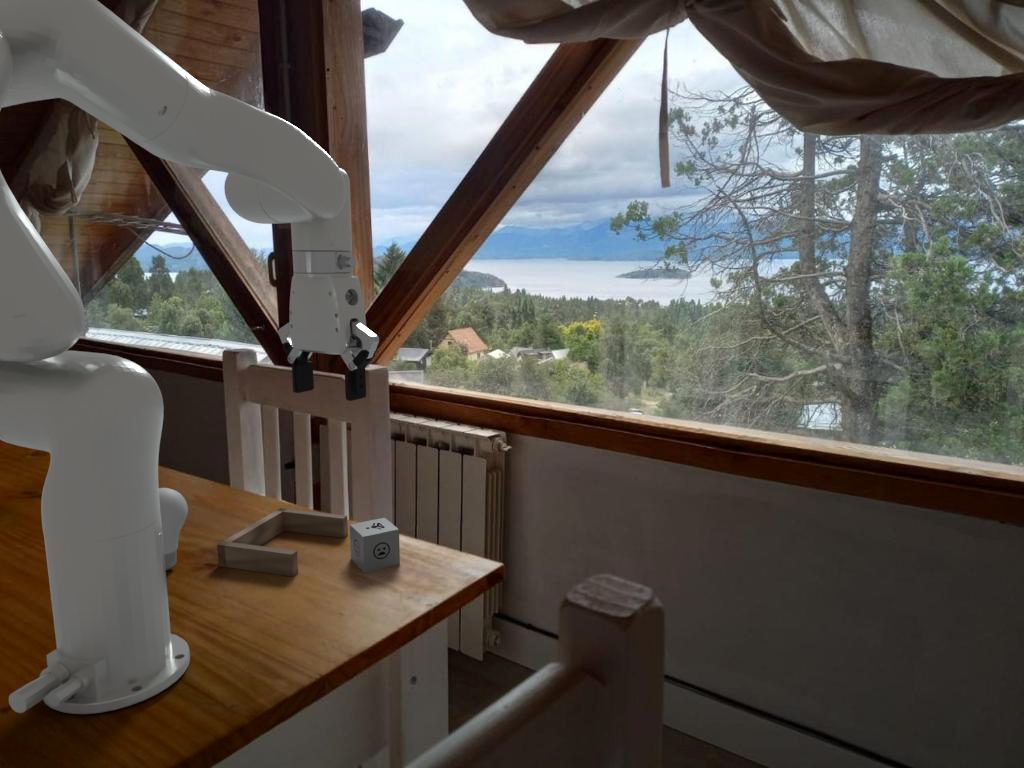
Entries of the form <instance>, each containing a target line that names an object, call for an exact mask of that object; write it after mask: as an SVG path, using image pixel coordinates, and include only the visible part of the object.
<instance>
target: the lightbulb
mask: <svg viewBox="0 0 1024 768" xmlns="http://www.w3.org/2000/svg"><path fill="white" fill-rule="evenodd" d="M159 501H160V513H161V523H162V535H163V547H164V559H165V571H169V570H170V569H171V568H173V567H174V566H175V565H176V564H177V563H178V561H177V559H178V557H177V556H178V554H177V550H178V548H179V536H180V533H181V530H182V529H183V527H184V524H185V522H186V519H187V517H188V512H189V508H188V507H189V506H188V503H187V500H186V498H185V497H184V496H183V495H182V494H181V493H180V492H178V491H177V490H174V489H172V488H169V487H159Z"/></svg>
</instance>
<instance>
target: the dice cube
mask: <svg viewBox="0 0 1024 768" xmlns="http://www.w3.org/2000/svg"><path fill="white" fill-rule="evenodd" d="M349 537H350V538H349V541H350V544H349V545H350V559H351V560H352V562H353V563H354V564H355V565H356V566H357V567H358V568H359V569H360V570H361V571H362V572H363V573H369V572H372V571H377V570H381V569H385V568H389V567H392V566H393V567H394V566H397V565H400V564H401V562H400V561H401V557H400V556H401V555H400V554H401V553H400V552H401V551H400V528H398V527H397V526H395V524H393V523H392V522H391V521H389V520H388V519H387V518H386V517H381V518H376V519H371V520H370V519H369V520H365V521H362V522H356V523H352V524H351V523H350V524H349Z"/></svg>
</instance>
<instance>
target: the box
mask: <svg viewBox="0 0 1024 768" xmlns="http://www.w3.org/2000/svg"><path fill="white" fill-rule="evenodd" d="M282 532H291V533H292V532H293V533H300V534H309V535H316V536H324V537H325V536H326V537H334V538H341V539H345V538H346V537H347V536H348V535H349V529H348V515H346V514H345V515H344V514H337V513H336V514H335V513H327V512H317V511H308V510H299V509H292V508H283V507H282V508H281V507H279V508H278V509H277V510H275V511H273V512H271V513H270V514H268V515H266V516H264V517H263V518H261V519H259V520H258V521H255V522H254V523H252V524H250V525H248V526H247V527H245V528H243V529H242V530H239V532H236V533H234V534H233V535H231V536H229V537H228V538H226V539H225V540H223V541H221V542H219V543H217V544H216V550H217V562H218V567H223V568H231V569H238V570H245V571H250V572H251V571H252V572H259V573H266V574H274V575H280V576H287V577H294V576H296V575H297V574H298V573H299V561H298V559H299V558H298V550H294V549H286V548H279V547H270V546H264V544H265V543H267V542H268V541H270V540H271V539H274V538H275V537H276V536H278V535H279V534H281V533H282Z"/></svg>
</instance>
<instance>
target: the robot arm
mask: <svg viewBox="0 0 1024 768" xmlns="http://www.w3.org/2000/svg"><path fill="white" fill-rule="evenodd" d="M51 99H63V100H65V101H68V102H70V103H72V104H73V105H75V106H76V107H78V108H79V109H81V110H82V111H84V112H86V113H87V114H89V115H90V116H93V117H94V118H96V119H98V120H99V121H100V122H102V123H103V124H105V125H106V126H108V127H110V128H112V129H113V130H115V131H116V132H118V133H120V134H121V135H123V136H124V137H126V138H128V139H129V141H132V142H133V143H134V144H136V145H138V146H140V147H141V148H143V149H144V150H146V151H147V152H149V153H150V154H152V155H153V156H156V157H157V158H159V159H162V160H165V161H168V162H171V163H174V164H175V163H176V164H178V165H183V166H187V167H191V168H195V169H200V170H207V171H215V172H222V173H226V175H227V176H226V178H225V179H224V185H223V187H224V189H223V190H224V196H225V199H226V202H227V203H228V204H227V205H229V207H230V208H231V210H232V211H234V213H236V215H238V216H239V217H240V218H242V219H243V220H246V221H248V222H252V223H254V224H260V225H261V224H266V225H272V224H273V225H274V224H278V225H279V224H280V225H281V224H290V230H291V231H290V232H291V233H290V234H291V248H292V249H291V250H292V266H293V267H292V269H293V276H292V277H291V285H290V292H289V295H290V296H289V322H287V323H286V324H284V325H283V326H282V327H280V328H279V329H278V330H277V333H278V336H279V338H280V341H281V344H282V349H283V351H284V352H285V355H287V361H288V363H289V364H290V365H291V375H292V392H293V393H295V394H300V393H301V394H302V393H304V392H309V391H313V390H314V388H315V383H314V379H315V378H314V364H313V361H311V360H310V358H311V356H312V355H313V353H315V354H316V353H317V354H327V355H340V357H341V359H342V360H343V362H344V363H345V364H346V366H347V368H348V369H346V370H344V385H345V386H344V388H345V389H344V390H345V391H344V392H345V400H347V401H349V402H352V401H356V400H360V399H364V398H366V396H367V381H366V369H367V368H369V367H370V363H371V361H372V360H373V359H374V358H375V356H376V350H377V347H378V345H379V343H380V337H379V335H377V334H376V333H375V332H373V331H372V330H371V329H369V328H368V327H367V320H366V311H365V310H366V309H365V303H364V302H365V301H364V298H363V297H364V296H363V292H362V288H361V284H360V283H361V282H360V280H359V276H354V268H355V267H356V265H357V259H356V258H355V257H354V256H353V255H354V254H353V233H352V231H353V230H352V208H351V207H352V202H351V184H350V177H349V175H348V172H347V171H345V170H344V169H342V168H340V167H339V165H338V164H337V162H336V161H335V160H334V159H333V158H332V157H331V155H329V153H328V152H327V151H325V149H324V148H322V147H321V146H320V144H318V143H317V142H316V141H315V140H313V139H312V138H311V137H310V136H308V135H307V134H306V133H305V132H304V131H302V130H301V129H300V128H298V127H297V126H295V125H293V124H292V123H290V122H289V121H286V120H285V119H283V118H281V117H279V116H277V115H274V114H272V113H271V112H268V111H266V110H263V109H261V108H258V107H256V106H253V105H251V104H249V103H247V102H244V101H242V100H240V99H238V98H236V97H233V96H230V95H229V94H225V93H223V92H220V91H217V90H215V89H212V88H210V87H208V86H206V85H204V84H203V83H202V82H200V81H199V80H198V79H196V78H195V77H193V76H192V75H191V74H190V73H189V72H187V70H186V69H184V68H182V66H180V65H179V64H177V62H175V61H174V60H173V59H171V58H170V57H169V56H168V55H166V54H165V53H164V52H162V51H161V50H160V49H159V48H157V46H156V45H154V44H152V42H150V41H149V40H148V39H146V38H145V37H144V36H143V35H142V34H140V33H139V32H138V31H137V30H135V29H134V28H133V27H131V26H130V25H129V24H127V22H125V21H124V20H123V19H121V17H119V16H118V15H116V14H115V13H114V12H113V11H112V10H111V9H109V8H107V7H106V6H105V5H104V4H103V3H101V2H100V1H99V0H0V112H1V110H2V108H7V107H11V106H17V105H20V104H25V103H32V102H38V101H45V100H51ZM85 313H86V312H85V307H84V304H83V301H82V299H81V297H80V294H79V293H78V290H77V288H76V287H75V286H74V283H73V282H72V280H71V279H70V277H69V276H68V274H67V273H66V272H65V270H64V269H63V267H62V266H61V265H60V263H59V262H58V260H57V259H56V257H55V255H54V254H53V253H52V251H51V249H50V248H49V247H48V245H47V244H46V242H45V241H44V239H43V238H42V236H41V235H40V234H39V232H38V230H37V229H36V227H35V226H34V225H33V223H32V221H30V219H29V217H28V216H27V214H26V213H25V211H24V210H23V209H22V208H21V205H20V204H19V202H18V201H17V199H16V197H15V194H13V192H12V190H11V189H10V186H9V185H8V183H7V181H6V179H5V177H4V175H3V173H2V171H1V169H0V441H3V442H4V443H7V444H10V445H14V446H18V447H22V448H27V449H32V450H38V451H44V452H47V453H49V455H50V460H49V461H50V462H49V467H48V471H47V474H46V477H45V480H44V483H43V484H44V485H43V488H42V491H41V493H42V494H41V501H40V504H41V505H40V509H41V510H40V515H41V527H42V534H43V538H44V539H43V541H44V548H45V549H44V550H45V556H46V557H45V558H46V565H47V574H48V582H49V583H48V584H49V591H50V601H51V609H52V619H53V625H54V627H53V628H54V634H55V644H56V649H54V650H51V652H49V653H47V654H46V656H45V657H46V664H47V667H46V668H44V669H42V670H41V671H40V673H39V677H38V678H36V679H34V680H31V681H30V682H28V683H26V684H24V685H22V686H21V687H20V688H17V689H16V690H15V691H13V692H12V693H10V694H9V696H8V704H9V705H10V707H11V709H12V710H13V711H14V712H16V713H18V714H23V713H25V712H26V711H28V710H30V709H31V708H32V707H34V706H35V705H37V704H38V703H40V702H41V701H43V702H44V704H45V705H46V706H48V707H49V708H50V709H52V710H55V711H58V712H62V713H66V714H72V715H89V714H90V715H91V714H102V713H106V712H112V711H116V710H119V709H123V708H127V707H130V706H133V705H135V704H139V703H141V702H144V701H145V700H148V699H150V698H153V697H154V696H157V695H158V694H161V692H163V691H164V690H167V689H168V688H169V687H171V686H172V685H173V684H174V683H175V682H177V681H178V680H179V679H180V678H181V677H182V675H184V673H185V672H186V671H187V668H188V667H189V665H190V661H191V653H190V646H189V644H188V642H187V641H186V640H185V639H184V638H182V637H180V636H178V635H177V634H173V633H172V632H171V621H170V610H169V608H170V607H169V598H168V596H169V595H168V585H167V572H166V571H167V570H165V559H164V547H163V535H162V523H161V513H160V501H159V488H160V487H159V455H160V454H159V453H160V446H161V445H160V444H161V438H162V430H163V424H164V410H165V407H164V399H163V395H162V391H161V389H160V387H159V385H158V383H157V382H156V380H155V379H154V377H153V376H152V375H151V374H150V373H149V372H148V371H147V370H146V369H145V368H144V367H142V366H141V365H139V364H137V363H136V362H134V361H131V360H130V359H127V358H123V357H122V356H119V355H112V354H110V353H109V354H108V353H104V352H103V353H100V352H91V351H79V350H69V349H71V348H72V347H73V346H74V345H75V344H76V343H77V342H78V341H79V340H80V338H81V336H82V335H83V332H84V329H85V322H86V316H85V315H86V314H85Z"/></svg>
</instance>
